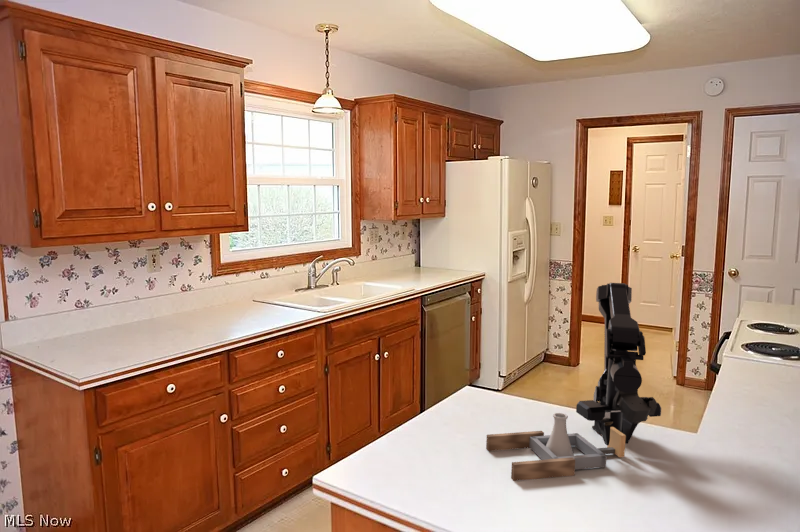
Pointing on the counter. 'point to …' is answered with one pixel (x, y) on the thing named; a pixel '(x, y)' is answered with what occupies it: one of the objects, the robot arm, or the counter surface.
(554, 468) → the lane rails
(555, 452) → the flask
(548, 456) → the sliding frame
